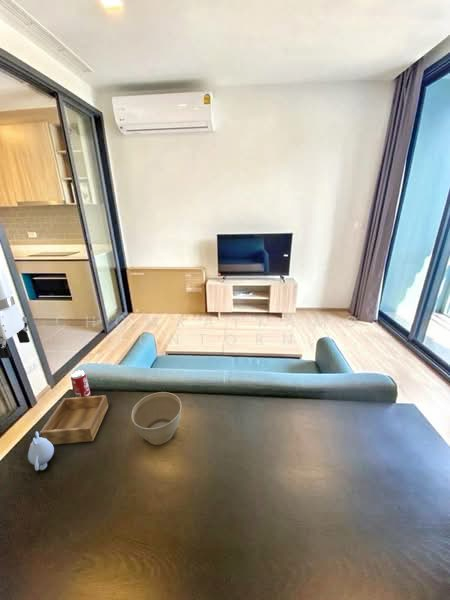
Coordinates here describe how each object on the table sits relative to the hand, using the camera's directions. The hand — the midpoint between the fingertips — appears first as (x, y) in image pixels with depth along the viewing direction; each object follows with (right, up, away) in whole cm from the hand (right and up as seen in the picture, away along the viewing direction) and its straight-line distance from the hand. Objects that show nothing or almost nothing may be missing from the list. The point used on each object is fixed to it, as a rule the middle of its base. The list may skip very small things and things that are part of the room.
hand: (15, 349), depth 85 cm
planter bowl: (+49, -30, +1) cm, 58 cm away
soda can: (+13, -24, +18) cm, 32 cm away
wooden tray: (+19, -28, +5) cm, 34 cm away
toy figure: (+17, -34, -9) cm, 39 cm away
